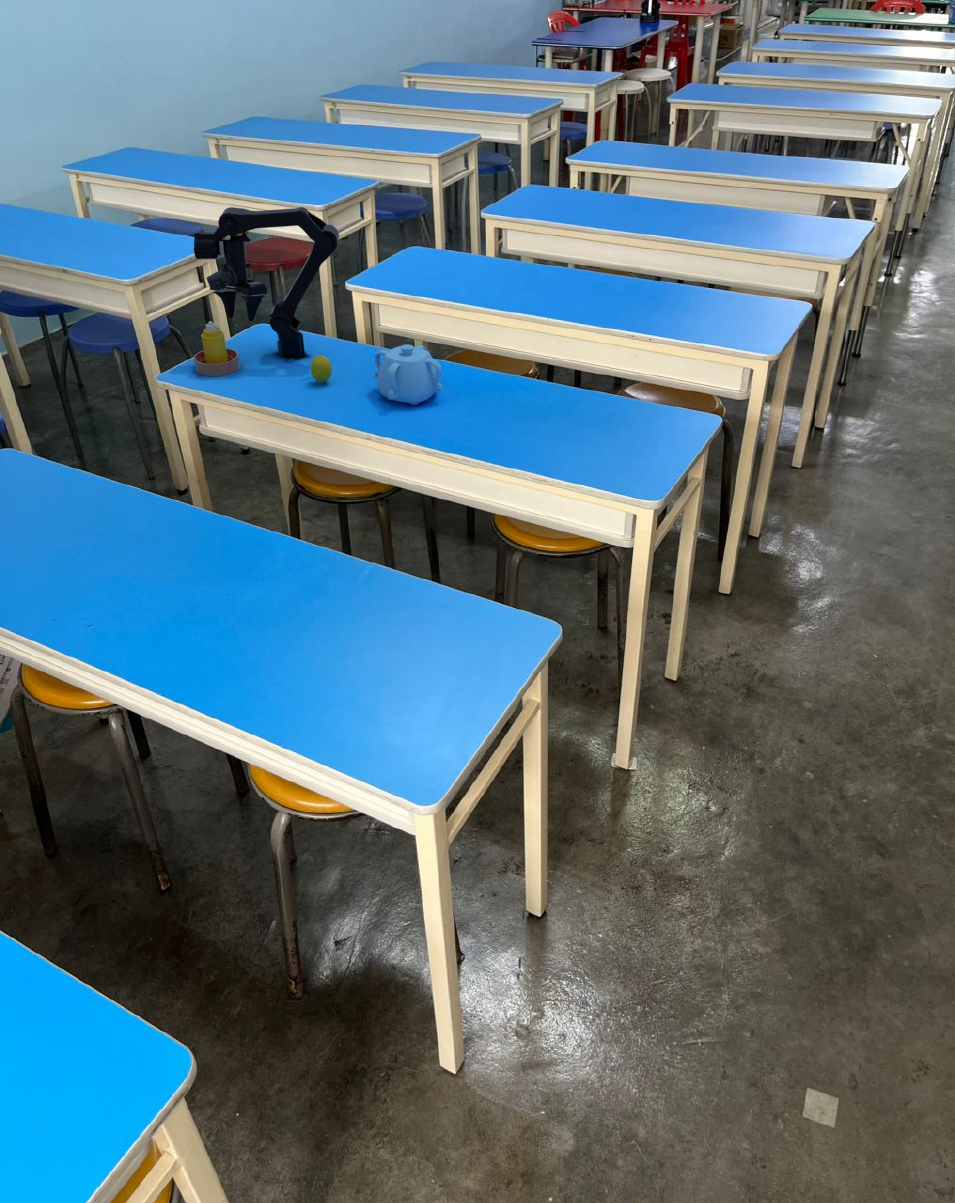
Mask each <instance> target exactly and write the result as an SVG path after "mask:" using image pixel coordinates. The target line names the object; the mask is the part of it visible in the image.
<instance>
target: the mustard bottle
mask: <svg viewBox="0 0 955 1203" xmlns="http://www.w3.org/2000/svg"><path fill="white" fill-rule="evenodd" d="M200 336H201V340H202V341H201V342H202V347H203V350H204V354H205V360H206V364H219V363H224V362H228V356H227V350H226V348H227V344H226V338H225V333H224V332H223V330H222V331H221V328H220V327H218V326H217V324H216V323H215V322H213V321H212V320H211V321H210V320H209V321H208V323H206V324H205V328H204V329H203V332H202V333H201V335H200Z"/></svg>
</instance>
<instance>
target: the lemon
mask: <svg viewBox="0 0 955 1203" xmlns="http://www.w3.org/2000/svg"><path fill="white" fill-rule="evenodd" d="M310 363H311V364H310V374H311V375H312V378H313V379H314V380H315V381H317V382H319V383H320V384H324V383H325V382H327V381H329V380H330V378H331V377H332V373H333V372H332V371H333V369H332V364H331V362H330V359H329V358H328V357H326V356H324V355H322V354H318V355H316V356H315V357H314V358H313V359H312V360H311V362H310Z"/></svg>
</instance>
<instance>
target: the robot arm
mask: <svg viewBox="0 0 955 1203" xmlns="http://www.w3.org/2000/svg"><path fill="white" fill-rule="evenodd" d="M217 224H218V227H217V228H216V229H215V230H214V232H203V231H195V232H194V233H193V254H194V257H195V259H196V260H219V258H220V256H223V258H224V259H223V260H224V263H223V262H222V263H221V265H220V270H218V271H215V272H214V273H212V274H210V275H208V276H207V277H206V281H207V283H208V286H209V291H212V293H213V294H215V296H217V297H219V298H220V300H221V302H222V305H223V307H224V309H225V312H226V314H227V316H228V318H229V319H233V318H234V314H235V307H236V298H237V291H240V293H241V294H242V295H240V297H241V299H243V301H244V302H245V306H246V313H247V314H246V315H247V318H248V322H250V323H251V322H254V320H255V317H256V314H257V312H258V309H259V307H260V305H261V303H262V300H263V298H265V296H266V295H268V286H267V285H266V284H265V283H264V282H258V281H254V282H252V278H249V274H248V268H251V263H250V262H247V251H246V250H247V249H246V243H248V242H249V243H250V242H252V241H253V237H251V236H250V235H249V234H248V233H247V232H250V231H252V230H256V229H257V230H258V229H270V228H284V227H299V228H300V229H301V230H302V231H303V232H304V233H305V234H306V235H307V237H308V238H309V239H310V240H312V241H313V242H314V243H313V246H312V249H311V251H310V254H309V256H308V257H307V259H306V261H305V263H304V264H303V266H302V268H301V270H300V272H299V273H298V275H297V277H296V279H295V280H294V282H293V284H292V285H291V288H290V290H289V291H288V292H287V295H286V296H285V297H284V298H283V299H282V298H281V296H278V297H277V298H276V299H277V300H276V302H275V304H274V305H273V306H272V307H271V309H270V312H269V315H268V317H270V318H269V326H270V328H271V329H272V331H274V332H275V333H276V334H277V341H276V344H277V354H278V355H279V356H280V357H282V358H284V359H285V360H287V361H289V360H298V359H301V358H302V359H303V358H306V357H308V354H307V353H306V352H305V344H304V343H305V341H304V333H302V332H301V331H300V330H301V328H302V321H300V320H299V319H298V318H297V317H296V316H295V314H296V311H297V308H298V306H299V304H300V302H301V301H302V299H303V297H304V296H305V294H306V292H307V290H308V288H309V287H310V285H311V283H312V282H313V280H314V278H315V276H316V275H317V272H318V271H319V269H320V267H321V266H322V265H323V264H324V263H325V261H326V260H328V259H329V257H330V256H331V255H332V254H333V253H334V252H335V251H336V250H337V247H338V244H339V241H340V240H339V239H340V233H339V231H338V229H337V228H336V227H335V226H334V225H332V224H327V223H326V222H325V221H324V220H322V219H321V218H320V217H318V216H316V215H315V214H313V213H312V212H311V211H309V209H307V208H306V207H304V206H299V207H295V208H279V209H265V210H264V209H263V210H250V209H246V208H244V207H243V208H242V207H233V206H230V207H226V208H225V209H224V210H223V212H222V213H221V215H220V216H219V218H218V223H217ZM228 236H229V238H226V237H228Z"/></svg>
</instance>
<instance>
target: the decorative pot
mask: <svg viewBox="0 0 955 1203" xmlns="http://www.w3.org/2000/svg"><path fill="white" fill-rule="evenodd" d="M381 355H382V356H383V358H382V360H381ZM374 363H375V366H376V369H377V370H376V371H375V372H374V378H375V380H376V388H377V390H378V391H379V393H380V394H381V395H382V396H383V397H384V398H386V399H387V400H389V401H394V402H395V401H396V402H401V403H408V404H409V405H412V406H416V405H419V404H420V403H422V402H424V401H426V400H429V399H430V398H431V397H432V396H433V395H434V394H435V393H436V394H439V393H442V391H443V390H444V386H443V385H442V383H441V379H440V378H441V375H442V365H441V364H440V362H439V361H437V359H434V358H433V356H432V355H431V353H430V352H429V351H428V349H427V347H425V346H424V345H421V344H419V345H416V346H414V345H412V344H402V345H400V346H396V347H395V346H394V347H393V348H391V349H390V350H386V349H381V350H378V351H377V352H376V353H375V354H374Z"/></svg>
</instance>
